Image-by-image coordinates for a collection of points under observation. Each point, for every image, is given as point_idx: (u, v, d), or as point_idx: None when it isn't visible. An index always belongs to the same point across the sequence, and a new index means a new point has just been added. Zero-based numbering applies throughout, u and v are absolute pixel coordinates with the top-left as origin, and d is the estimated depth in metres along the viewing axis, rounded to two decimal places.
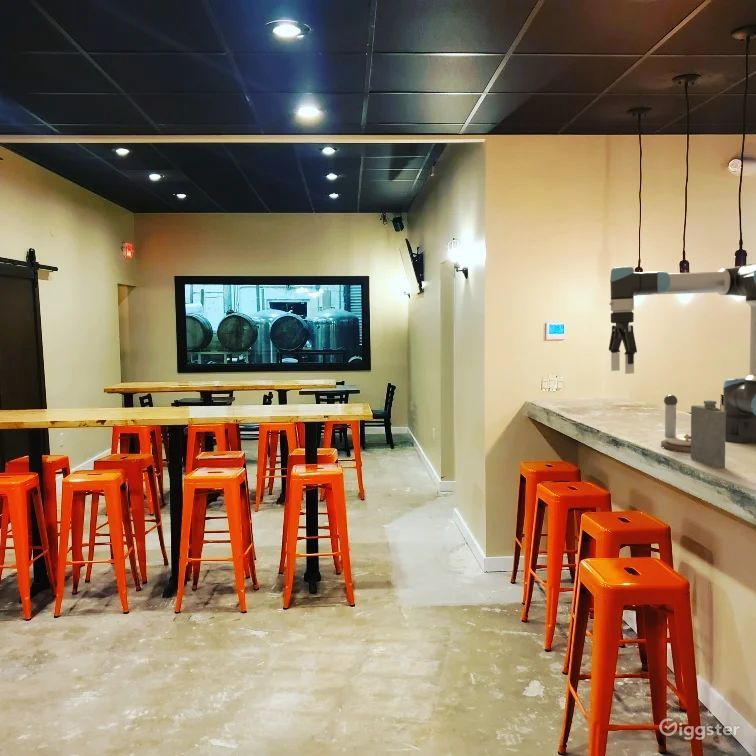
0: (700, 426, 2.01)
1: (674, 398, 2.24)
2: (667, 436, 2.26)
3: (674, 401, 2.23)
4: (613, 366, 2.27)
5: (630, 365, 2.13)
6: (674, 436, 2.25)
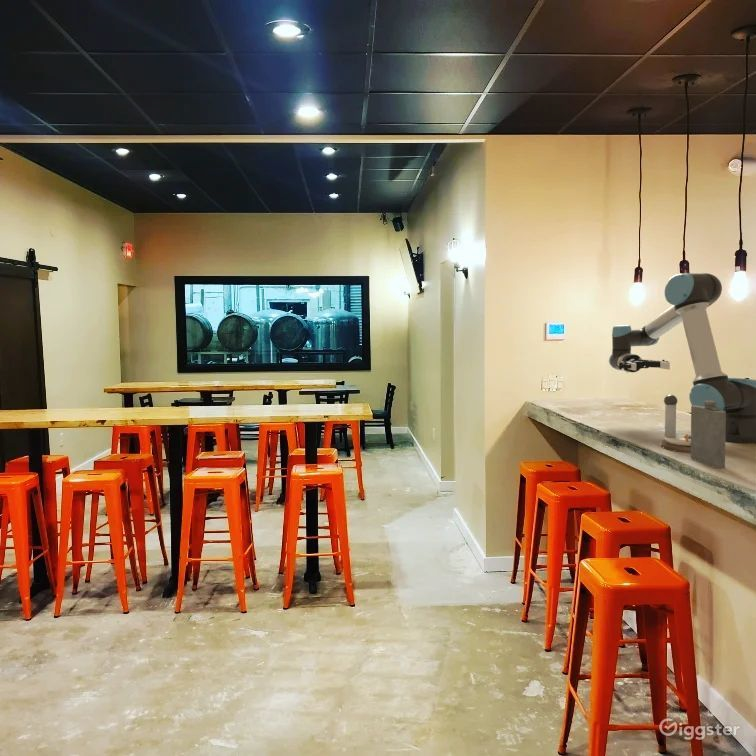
0: (700, 426, 2.01)
1: (674, 398, 2.24)
2: (667, 436, 2.26)
3: (674, 401, 2.23)
4: (665, 367, 2.41)
5: (631, 366, 2.42)
6: (674, 436, 2.25)
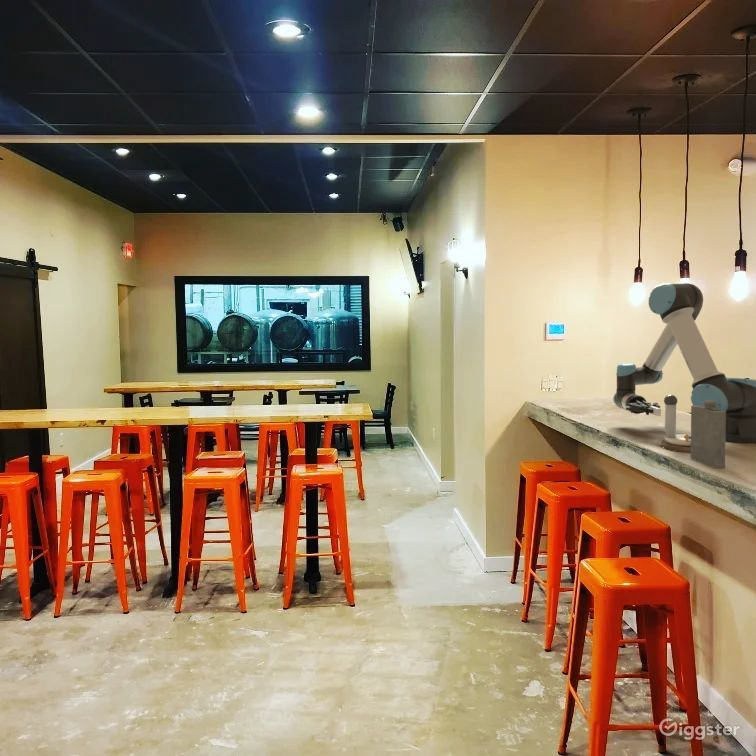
0: (700, 426, 2.01)
1: (674, 398, 2.24)
2: (667, 436, 2.26)
3: (674, 401, 2.23)
4: None
5: (653, 410, 2.37)
6: (674, 436, 2.25)
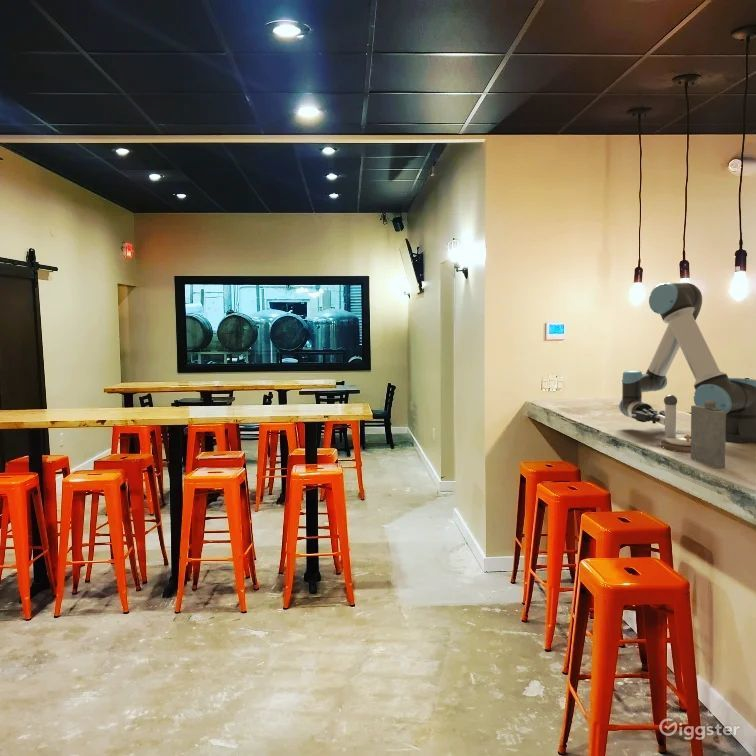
0: (700, 426, 2.01)
1: (674, 398, 2.23)
2: (667, 436, 2.25)
3: (674, 401, 2.23)
4: None
5: (660, 419, 2.31)
6: (674, 436, 2.25)
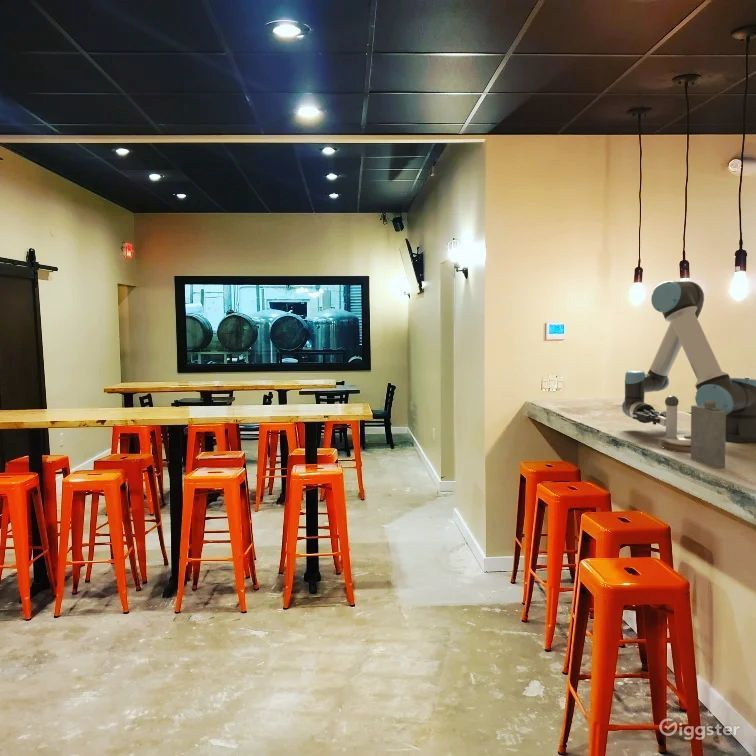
0: (700, 426, 2.01)
1: (677, 399, 2.21)
2: (671, 438, 2.22)
3: (677, 402, 2.21)
4: None
5: (660, 420, 2.28)
6: (676, 437, 2.23)
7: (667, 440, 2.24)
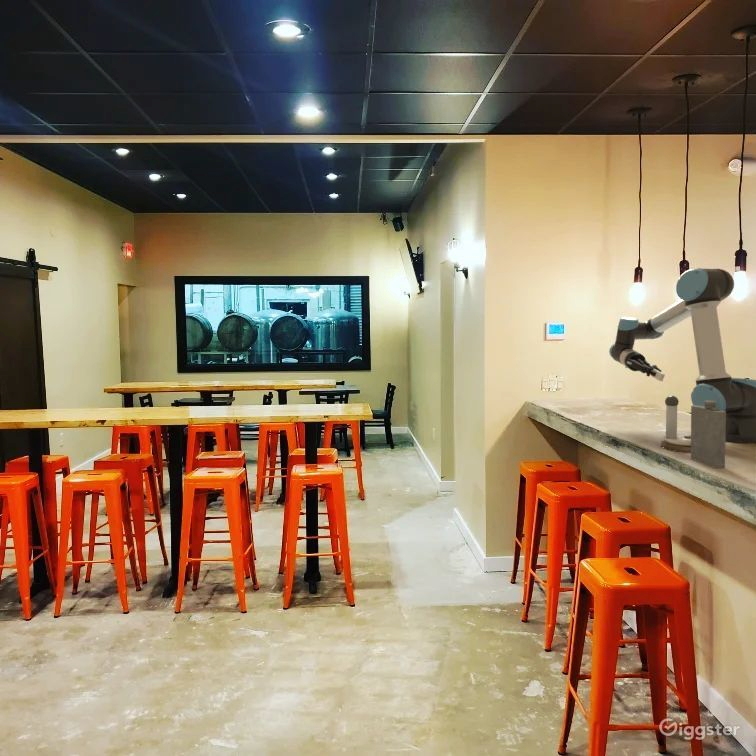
0: (700, 426, 2.01)
1: (677, 399, 2.21)
2: (671, 438, 2.22)
3: (677, 402, 2.21)
4: None
5: (656, 374, 2.39)
6: (676, 437, 2.23)
7: (667, 440, 2.24)
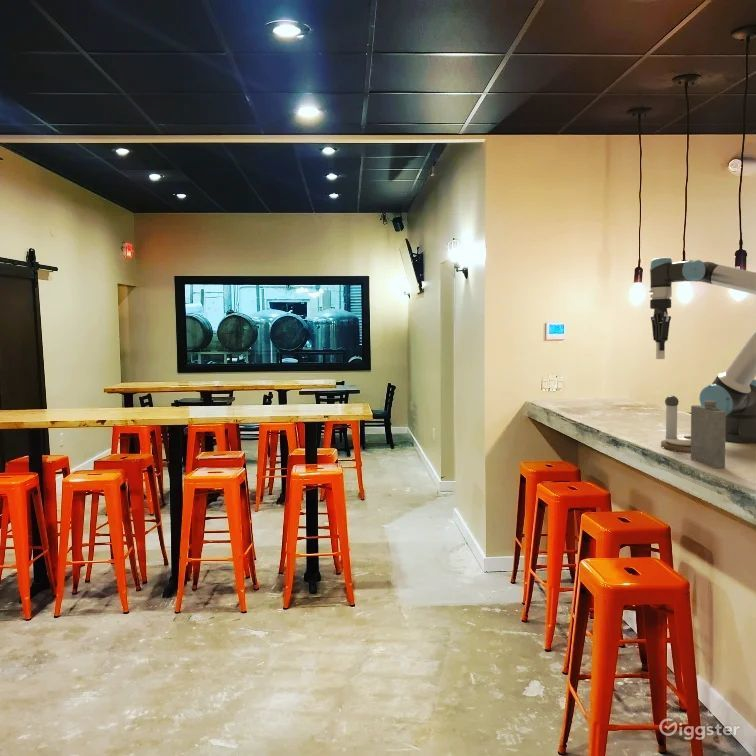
0: (700, 426, 2.01)
1: (677, 399, 2.21)
2: (671, 438, 2.22)
3: (677, 402, 2.21)
4: None
5: (661, 352, 2.44)
6: (676, 437, 2.23)
7: (667, 440, 2.24)
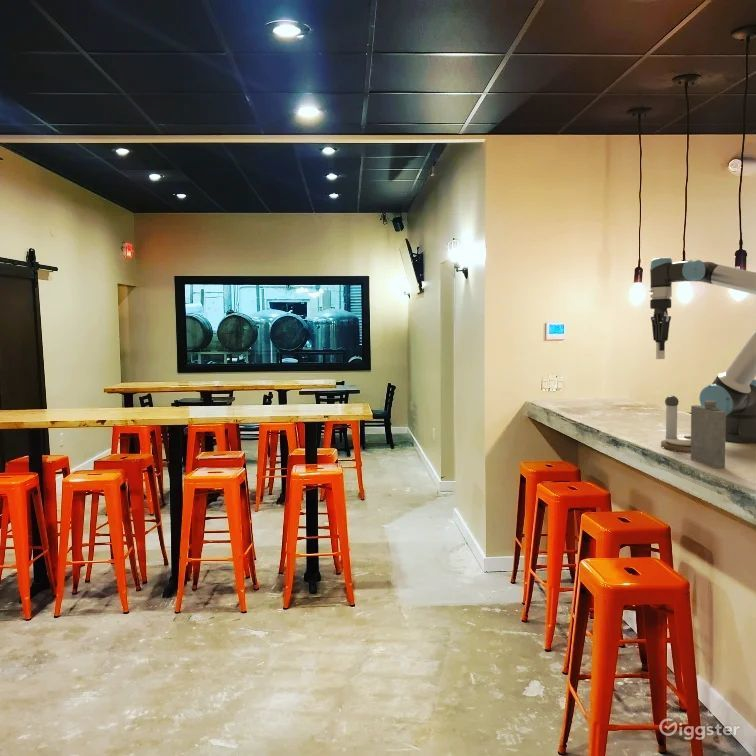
0: (700, 426, 2.01)
1: (677, 399, 2.21)
2: (671, 438, 2.22)
3: (677, 402, 2.21)
4: None
5: (661, 352, 2.44)
6: (676, 437, 2.23)
7: (667, 440, 2.24)
